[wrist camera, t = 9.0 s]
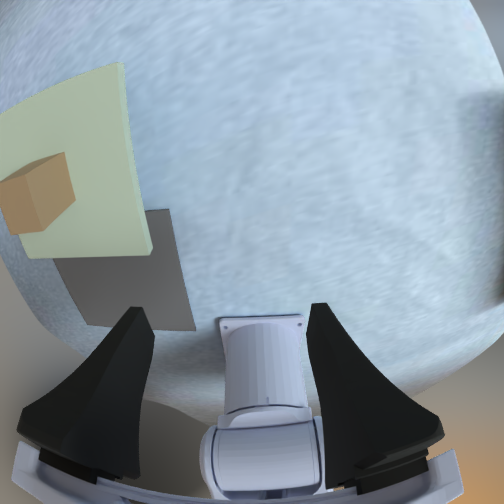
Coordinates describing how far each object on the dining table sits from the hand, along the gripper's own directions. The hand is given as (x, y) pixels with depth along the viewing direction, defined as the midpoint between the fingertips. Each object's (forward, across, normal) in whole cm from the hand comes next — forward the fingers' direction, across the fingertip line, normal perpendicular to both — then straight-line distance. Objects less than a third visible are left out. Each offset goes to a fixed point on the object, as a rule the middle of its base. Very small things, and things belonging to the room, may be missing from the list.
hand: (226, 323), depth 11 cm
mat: (+9, +11, +6) cm, 15 cm away
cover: (+6, +10, -6) cm, 13 cm away
